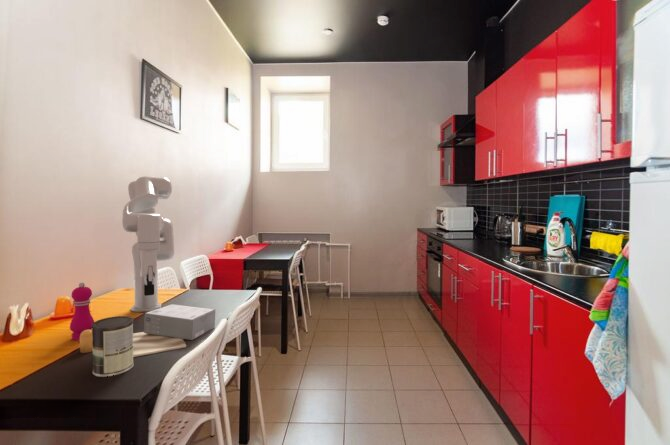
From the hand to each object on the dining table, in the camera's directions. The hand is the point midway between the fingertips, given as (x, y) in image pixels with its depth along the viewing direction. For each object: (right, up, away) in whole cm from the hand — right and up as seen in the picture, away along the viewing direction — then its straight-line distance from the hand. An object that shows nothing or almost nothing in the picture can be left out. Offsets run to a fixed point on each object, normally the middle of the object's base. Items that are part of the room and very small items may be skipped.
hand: (149, 294), depth 132 cm
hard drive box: (+2, -10, +3) cm, 10 cm away
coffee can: (+5, -16, -30) cm, 34 cm away
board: (+6, -15, -9) cm, 18 cm away
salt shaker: (-11, -15, -17) cm, 25 cm away
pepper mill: (-21, -15, -5) cm, 26 cm away
